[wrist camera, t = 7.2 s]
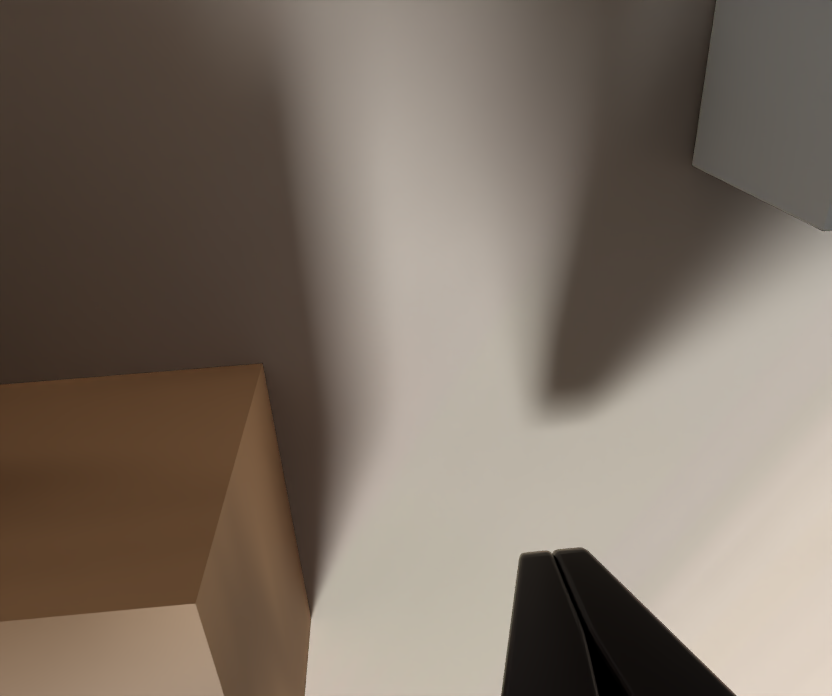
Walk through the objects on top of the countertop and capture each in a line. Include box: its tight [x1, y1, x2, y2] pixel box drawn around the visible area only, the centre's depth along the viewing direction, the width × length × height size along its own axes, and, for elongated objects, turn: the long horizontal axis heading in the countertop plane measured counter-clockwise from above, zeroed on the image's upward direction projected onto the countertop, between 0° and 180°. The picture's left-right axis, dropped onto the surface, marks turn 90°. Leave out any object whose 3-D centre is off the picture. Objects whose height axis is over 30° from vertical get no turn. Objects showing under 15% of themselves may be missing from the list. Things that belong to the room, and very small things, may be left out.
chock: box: [0, 363, 311, 696], centre depth 8 cm, size 5×4×4 cm
